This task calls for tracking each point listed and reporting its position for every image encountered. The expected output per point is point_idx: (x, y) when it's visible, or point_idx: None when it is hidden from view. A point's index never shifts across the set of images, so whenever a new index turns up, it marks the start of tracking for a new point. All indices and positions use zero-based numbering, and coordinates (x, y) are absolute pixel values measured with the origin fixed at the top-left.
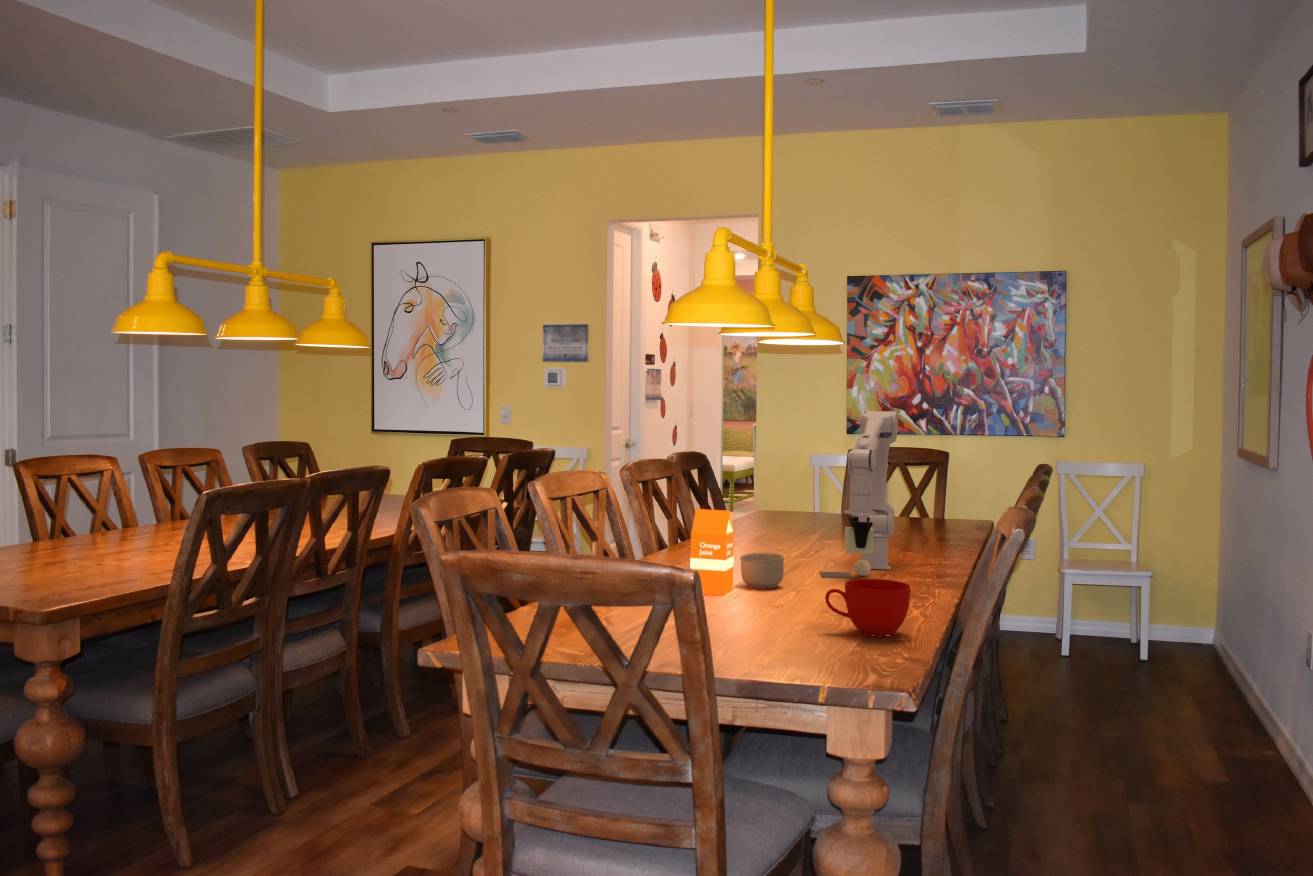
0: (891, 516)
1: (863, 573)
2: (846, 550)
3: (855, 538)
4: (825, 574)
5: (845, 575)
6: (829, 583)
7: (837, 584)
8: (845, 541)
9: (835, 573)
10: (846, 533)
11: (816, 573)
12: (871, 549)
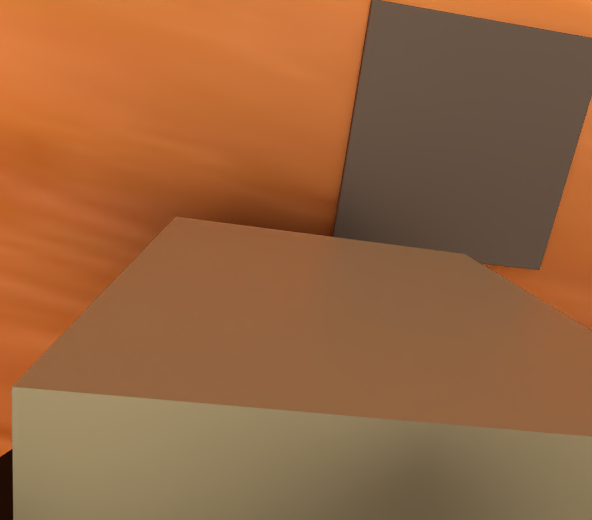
0: None
1: None
2: (190, 227)
3: (10, 450)
4: (472, 61)
5: (420, 216)
6: (96, 9)
7: (59, 71)
8: (406, 282)
9: (509, 157)
10: (129, 332)
11: (563, 2)
12: None
